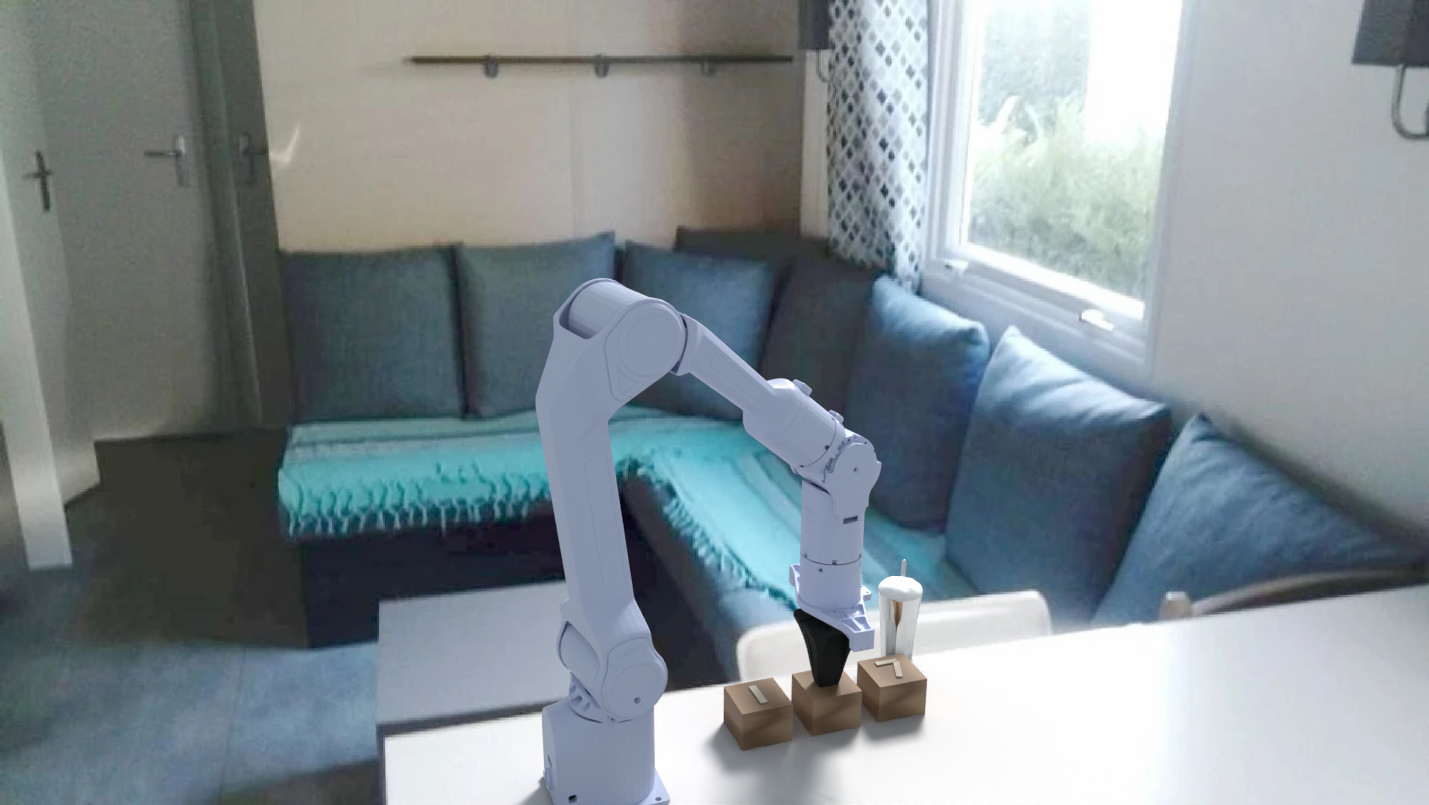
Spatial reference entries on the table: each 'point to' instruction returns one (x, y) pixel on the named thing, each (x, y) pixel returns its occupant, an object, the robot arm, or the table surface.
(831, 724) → the blank block
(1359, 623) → the table surface
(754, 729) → the digit block one
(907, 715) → the digit block seven
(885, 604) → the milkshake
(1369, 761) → the table surface
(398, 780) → the table surface
